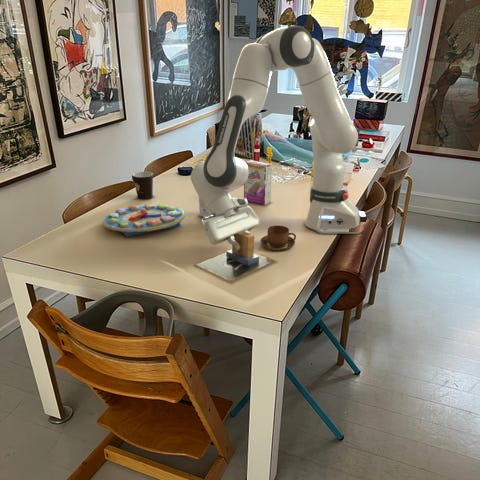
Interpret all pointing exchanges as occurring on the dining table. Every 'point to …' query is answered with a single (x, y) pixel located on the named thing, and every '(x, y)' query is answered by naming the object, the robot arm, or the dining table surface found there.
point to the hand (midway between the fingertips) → (244, 247)
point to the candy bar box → (258, 183)
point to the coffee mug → (143, 184)
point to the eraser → (243, 249)
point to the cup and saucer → (278, 238)
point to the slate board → (231, 266)
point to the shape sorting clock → (143, 219)
